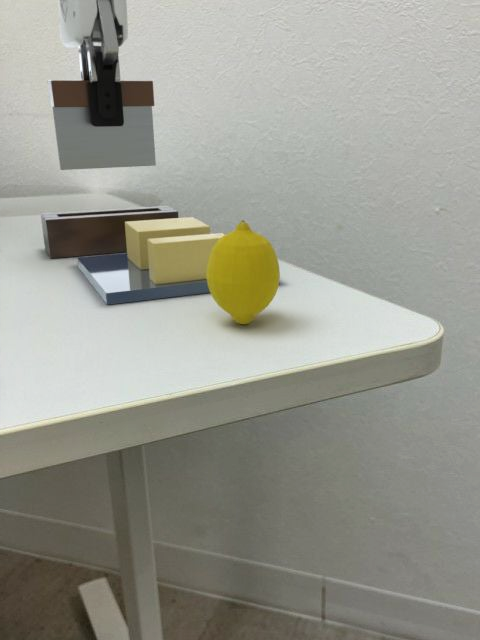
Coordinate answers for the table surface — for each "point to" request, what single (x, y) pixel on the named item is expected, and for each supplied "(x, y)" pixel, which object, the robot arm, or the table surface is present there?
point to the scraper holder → (94, 229)
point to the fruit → (243, 273)
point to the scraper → (102, 142)
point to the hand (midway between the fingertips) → (104, 123)
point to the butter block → (157, 235)
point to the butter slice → (180, 257)
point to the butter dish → (131, 280)
